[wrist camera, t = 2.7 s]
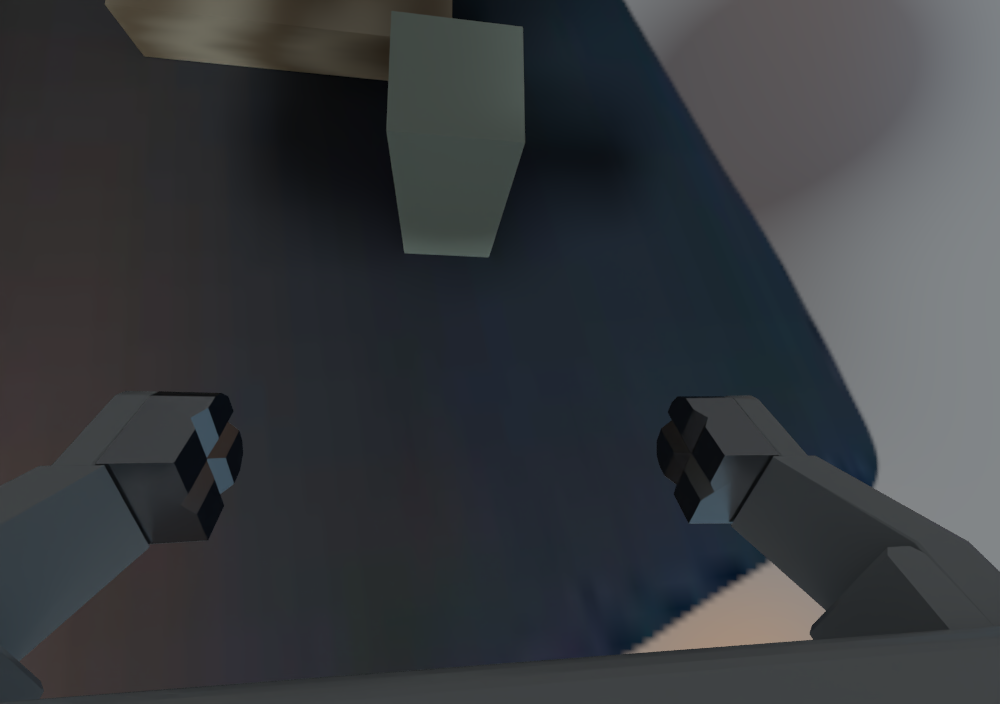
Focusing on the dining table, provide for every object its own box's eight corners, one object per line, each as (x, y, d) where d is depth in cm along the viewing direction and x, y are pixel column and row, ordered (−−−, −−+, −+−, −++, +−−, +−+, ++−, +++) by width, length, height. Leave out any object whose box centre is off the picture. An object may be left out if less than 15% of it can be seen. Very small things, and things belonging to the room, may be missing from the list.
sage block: (404, 253, 24) (386, 130, 15) (407, 175, 25) (391, 10, 15) (488, 257, 25) (524, 142, 15) (488, 181, 26) (522, 26, 16)
